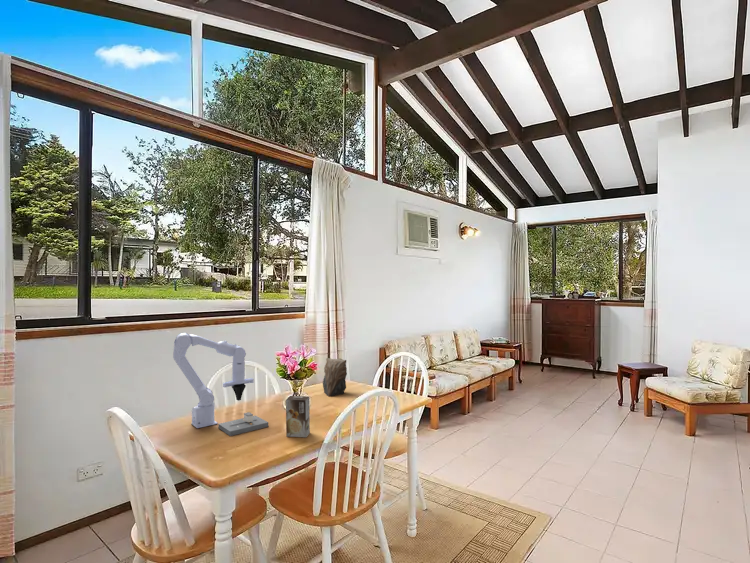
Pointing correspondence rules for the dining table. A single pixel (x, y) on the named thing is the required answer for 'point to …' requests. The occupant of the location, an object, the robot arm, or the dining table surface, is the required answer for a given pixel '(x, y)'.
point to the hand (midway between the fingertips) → (238, 399)
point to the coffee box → (297, 416)
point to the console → (242, 426)
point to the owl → (334, 377)
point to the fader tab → (248, 417)
